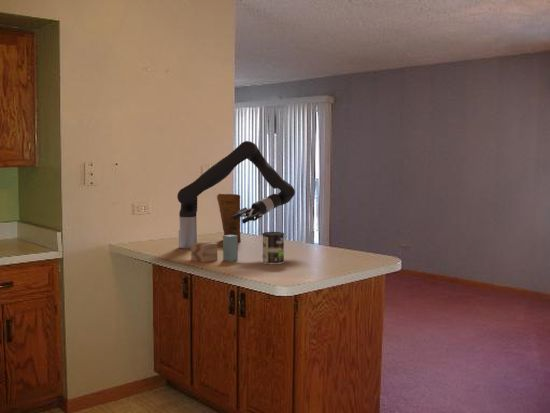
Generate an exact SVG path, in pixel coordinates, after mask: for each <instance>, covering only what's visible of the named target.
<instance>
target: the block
mask: <svg viewBox="0 0 550 413" xmlns="http://www.w3.org/2000/svg"><path fill="white" fill-rule="evenodd" d="M190 257H191V258H190V260H191V261H195V262H200V263H207V262H212V261H217V260H218V242H211V241H199V242H197V243H192V244H191V248H190Z"/></svg>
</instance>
